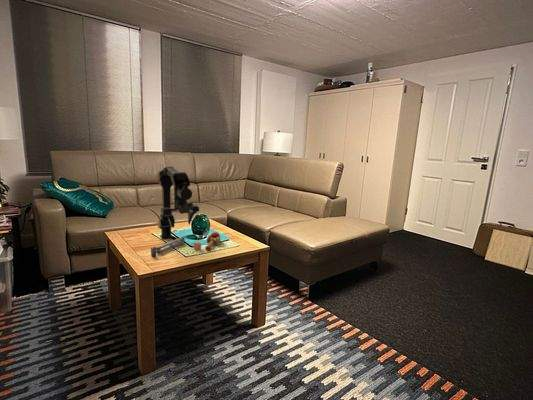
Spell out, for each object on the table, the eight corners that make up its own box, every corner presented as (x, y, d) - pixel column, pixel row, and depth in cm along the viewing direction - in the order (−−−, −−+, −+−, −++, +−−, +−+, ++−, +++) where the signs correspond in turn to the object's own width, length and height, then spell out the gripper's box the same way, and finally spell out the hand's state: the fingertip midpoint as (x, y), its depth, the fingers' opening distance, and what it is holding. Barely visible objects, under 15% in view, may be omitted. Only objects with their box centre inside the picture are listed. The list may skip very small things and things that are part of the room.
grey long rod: (156, 253, 151) (156, 247, 150) (182, 242, 169) (182, 236, 168) (158, 253, 150) (158, 247, 150) (184, 242, 168) (184, 237, 167)
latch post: (193, 249, 159) (193, 242, 159) (199, 248, 161) (198, 241, 160) (195, 251, 157) (195, 244, 156) (201, 250, 159) (200, 243, 158)
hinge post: (150, 255, 149) (150, 247, 148) (155, 254, 150) (155, 246, 149) (151, 257, 147) (151, 248, 146) (156, 256, 148) (156, 248, 147)
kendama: (216, 253, 158) (223, 238, 175) (214, 243, 156) (221, 229, 173) (203, 255, 159) (211, 240, 176) (200, 245, 157) (209, 230, 174)
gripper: (166, 200, 138) (167, 232, 141) (203, 197, 148) (203, 227, 151) (159, 197, 147) (161, 226, 150) (195, 194, 157) (195, 221, 160)
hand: (180, 225), depth 152 cm, fingers open, 9 cm apart
